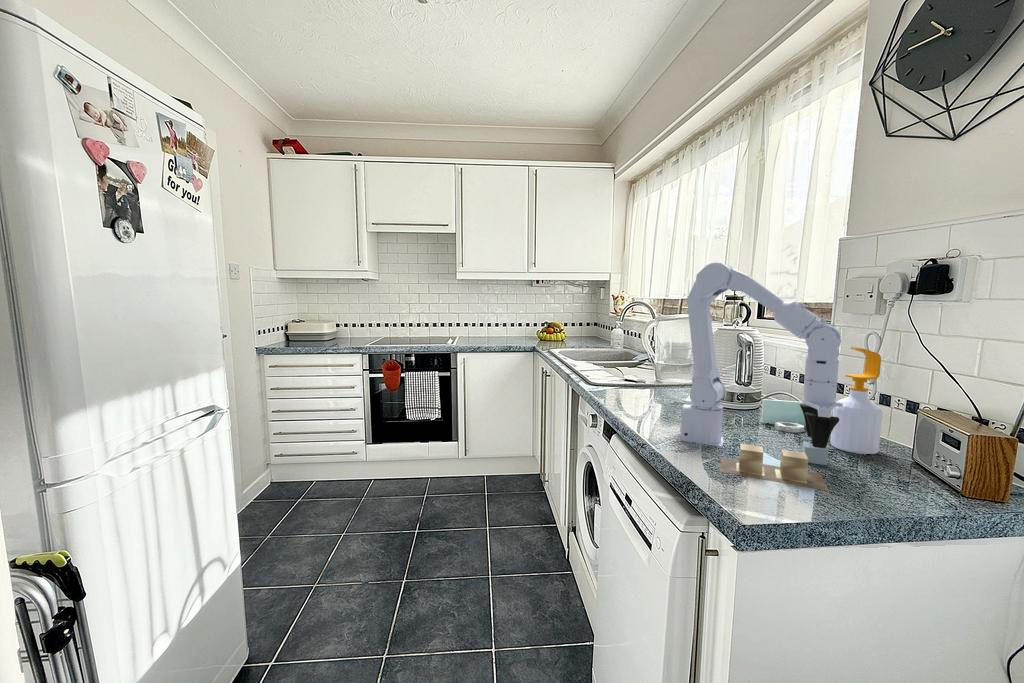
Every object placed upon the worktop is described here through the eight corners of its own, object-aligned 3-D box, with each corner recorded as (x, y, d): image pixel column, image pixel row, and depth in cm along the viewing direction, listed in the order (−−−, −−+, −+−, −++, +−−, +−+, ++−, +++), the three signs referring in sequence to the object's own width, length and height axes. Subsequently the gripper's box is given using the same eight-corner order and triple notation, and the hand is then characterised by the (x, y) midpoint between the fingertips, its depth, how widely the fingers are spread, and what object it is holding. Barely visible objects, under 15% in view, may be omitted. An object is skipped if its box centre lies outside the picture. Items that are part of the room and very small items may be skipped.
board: (719, 474, 86) (719, 471, 86) (721, 459, 94) (721, 457, 94) (828, 493, 77) (828, 490, 77) (820, 476, 85) (820, 473, 85)
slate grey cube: (804, 464, 92) (805, 447, 91) (801, 458, 95) (802, 441, 95) (826, 468, 90) (828, 450, 89) (823, 462, 93) (824, 444, 93)
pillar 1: (739, 470, 86) (740, 449, 86) (739, 464, 90) (740, 443, 89) (761, 474, 85) (763, 452, 84) (760, 467, 88) (762, 446, 88)
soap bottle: (821, 442, 106) (829, 345, 104) (858, 442, 106) (867, 345, 104) (848, 455, 98) (857, 349, 95) (889, 455, 97) (899, 349, 95)
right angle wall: (760, 424, 124) (762, 399, 123) (808, 428, 120) (810, 402, 119) (772, 436, 112) (774, 408, 112) (825, 441, 109) (827, 412, 108)
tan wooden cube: (781, 477, 83) (783, 455, 83) (780, 470, 86) (781, 449, 86) (806, 482, 81) (808, 459, 81) (803, 474, 85) (805, 452, 84)
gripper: (851, 388, 82) (846, 455, 84) (836, 376, 95) (832, 435, 96) (808, 384, 86) (803, 449, 87) (799, 374, 98) (795, 431, 100)
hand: (816, 442), depth 92 cm, fingers open, 7 cm apart
